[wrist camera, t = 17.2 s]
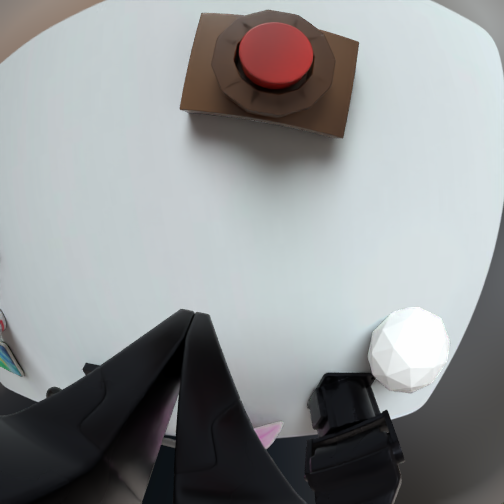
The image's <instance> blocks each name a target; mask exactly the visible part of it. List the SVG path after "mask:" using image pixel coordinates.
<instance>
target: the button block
mask: <svg viewBox="0 0 504 504" xmlns="http://www.w3.org/2000/svg"><path fill="white" fill-rule="evenodd" d="M270 22H278V23H284V24H288V25H291V26H293V27H295V28H297V29H298V30H300V31H301V32H302V33H303V34H304V35H305V36H306V37H307V38H308V40H309V41H310V43H311V46H312V49H313V61H312V64H311V67H310V68H309V70H308V71H307V72H306V74H305V75H304V76H303V77H302V78H301V80H300V81H298V82H297V83H296V84H294V85H292V86H290V87H288V88H284V89H268V88H264V87H261V86H259V85H257V84H255V83H253V82H252V81H251V80H250V79H249V78H248V77H247V76H246V75H245V73H244V71H243V70H242V67H241V62H240V57H239V46H240V42H241V40H242V38H243V37H244V35H245V34H246V33H247V32H248V31H249V30H251V29H252V28H254V27H256V26H258V25H260V24H264V23H270ZM358 47H359V42H357V41H355V40H352V39H349V38H346V37H343V36H340V35H336V34H333V33H330V32H326V31H323V30H319V29H317V28H316V27H314V26H313V25H312V24H310V23H309V22H308V21H306V20H305V19H303V18H302V17H300V16H299V15H295V14H290V13H285V12H279V11H273V10H265V11H261V12H257V13H253V14H249V15H245V16H244V15H234V14H219V13H201V17H200V20H199V24H198V27H197V31H196V35H195V39H194V43H193V47H192V51H191V55H190V59H189V64H188V68H187V73H186V78H185V83H184V88H183V93H182V98H181V104H180V110H182V111H185V112H188V113H198V114H208V115H217V116H225V117H232V118H239V119H246V120H252V121H258V122H264V123H269V124H275V125H280V126H285V127H289V128H294V129H299V130H303V131H307V132H311V133H315V134H319V135H323V136H327V137H331V138H343V137H344V132H345V127H346V121H347V116H348V111H349V105H350V100H351V94H352V88H353V82H354V75H355V69H356V62H357V55H358Z"/></svg>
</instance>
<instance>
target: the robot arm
mask: <svg viewBox="0 0 504 504" xmlns="http://www.w3.org/2000/svg"><path fill="white" fill-rule="evenodd" d="M375 379H376V378H375V377H374V376H373V374H372V373H326V374H324V376H323V378H322V379H321V381H320V383H319V385H318V387H317V388H316V389H315V390H314V392H313V394H312V396H311V397H310V399H309V402H308V404H307V407H308V409H310V413H311V420H312V426H313V429H315V430H318V436H319V437H318V438H316V439H310V440H308V441H307V447H306V461H305V476H304V478H305V480H306V481H307V482H308V483H309V486H310V487H311V489H312V490H313V491H314V492H315V501H316V504H394V501H395V498H396V496H397V493H398V491H399V487H400V485H401V482H402V477H401V473H400V470H399V467H398V464H401V463H403V462H405V460H404V457H403V453H402V450H401V447H400V444H399V441H398V438H397V435H396V433H395V430H394V427H393V424H392V422H391V419H390V416H389V413H388V411H387V410H385V411H383V413H380V410H379V408H378V405H377V402H376V399H375V397H374V394H373V391H372V388H371V385H372V383H373V382H374V380H375ZM178 395H179V400H178V412H177V426H176V442H175V463H174V493H173V504H307V503H306V502H305V501H304V500H303V499H302V498H301V497H300V496H299V495H298V494H297V493H296V492H295V491H294V489H293V488H292V487H291V485H290V484H289V483H288V481H287V480H286V478H285V477H284V476H283V474H282V473H281V471H280V470H279V468H278V467H277V465H276V464H275V463H274V461H273V459H272V458H271V457H270V455H269V453H268V452H267V450H266V449H265V447H264V446H263V444H262V442H261V441H260V439H259V437H258V436H257V434H256V432H255V430H254V429H253V426H252V424H251V422H250V420H249V418H248V416H247V414H246V411H245V409H244V406H243V404H242V401H241V400H240V397H239V394H238V392H237V389H236V387H235V384H234V382H233V379H232V376H231V374H230V371H229V368H228V366H227V363H226V360H225V358H224V355H223V352H222V349H221V347H220V344H219V341H218V338H217V335H216V332H215V329H214V327H213V324H212V321H211V318H210V315H209V314H205V313H200V312H196V313H194V311H190V310H185V309H180V310H179V311H177V312H176V313H174V314H173V315H171V316H170V317H169V318H167V319H166V320H164V321H163V322H162V323H160V324H159V325H157V326H156V327H155V328H153V329H152V330H150V331H149V332H147V333H146V334H145V335H143V336H142V337H140V338H139V339H138V340H136V341H135V342H133V343H132V344H130V345H129V346H128V347H126V348H125V349H123V350H122V351H121V352H119V353H118V354H116V355H115V356H113V357H112V358H111V359H109V360H108V361H106V362H105V363H103V364H102V365H101V367H98V368H96V369H95V370H93V371H92V372H90V373H89V374H87V375H86V376H84V377H83V378H81V379H80V380H78V381H77V382H75V383H73V384H72V385H70V386H68V387H66V388H65V389H63V390H61V391H59V392H57V393H55V394H54V395H52V396H50V397H48V398H46V399H44V400H42V401H40V402H38V403H36V404H34V405H32V406H30V407H28V408H26V409H24V410H22V411H20V412H17V413H14V414H11V415H5V416H0V504H141V503H142V502H141V501H142V500H143V497H144V494H145V490H146V487H147V485H148V481H149V479H150V475H151V472H152V470H153V467H154V464H155V460H156V458H157V455H158V452H159V449H160V446H161V443H162V440H163V437H164V434H165V432H166V429H167V426H168V423H169V420H170V417H171V414H172V412H173V409H174V406H175V403H176V400H177V398H178ZM387 432H389V433H387ZM502 504H504V502H503V503H502Z"/></svg>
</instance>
